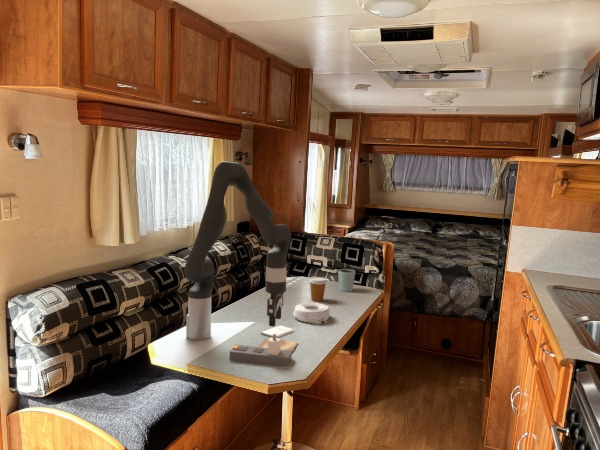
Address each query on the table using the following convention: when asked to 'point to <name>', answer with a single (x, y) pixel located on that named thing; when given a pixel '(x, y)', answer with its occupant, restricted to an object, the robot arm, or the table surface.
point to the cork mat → (284, 345)
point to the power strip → (259, 355)
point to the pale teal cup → (346, 280)
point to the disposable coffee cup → (317, 288)
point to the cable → (311, 313)
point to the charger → (274, 345)
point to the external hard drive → (277, 331)
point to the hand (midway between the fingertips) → (275, 322)
